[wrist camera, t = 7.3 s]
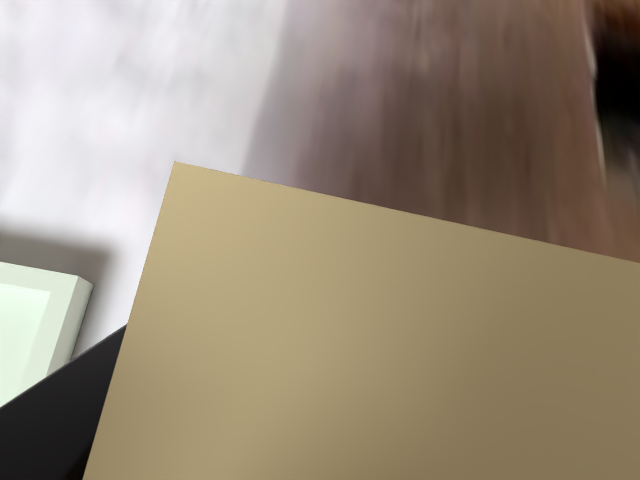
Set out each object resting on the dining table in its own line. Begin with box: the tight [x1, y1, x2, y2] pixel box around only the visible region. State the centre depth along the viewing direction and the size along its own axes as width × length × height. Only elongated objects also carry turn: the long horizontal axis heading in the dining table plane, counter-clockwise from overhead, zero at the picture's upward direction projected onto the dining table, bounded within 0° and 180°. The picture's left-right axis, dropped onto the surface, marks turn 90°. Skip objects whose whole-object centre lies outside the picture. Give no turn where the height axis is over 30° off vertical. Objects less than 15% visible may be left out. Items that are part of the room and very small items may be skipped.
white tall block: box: [83, 161, 640, 480], centre depth 9 cm, size 4×4×12 cm
